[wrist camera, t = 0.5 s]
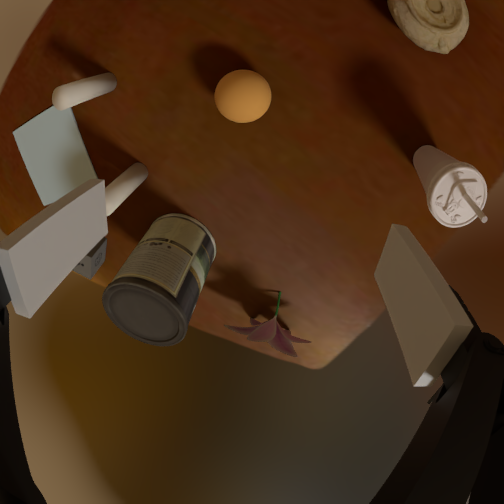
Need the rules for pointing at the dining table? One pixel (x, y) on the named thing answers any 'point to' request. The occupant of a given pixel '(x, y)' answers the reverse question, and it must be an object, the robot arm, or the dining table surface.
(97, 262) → the dice cube
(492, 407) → the robot arm
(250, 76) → the ball
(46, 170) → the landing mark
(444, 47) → the oil lamp
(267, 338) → the lily
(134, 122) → the dining table surface
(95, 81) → the post
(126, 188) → the post
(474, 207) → the smoothie
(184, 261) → the coffee can
